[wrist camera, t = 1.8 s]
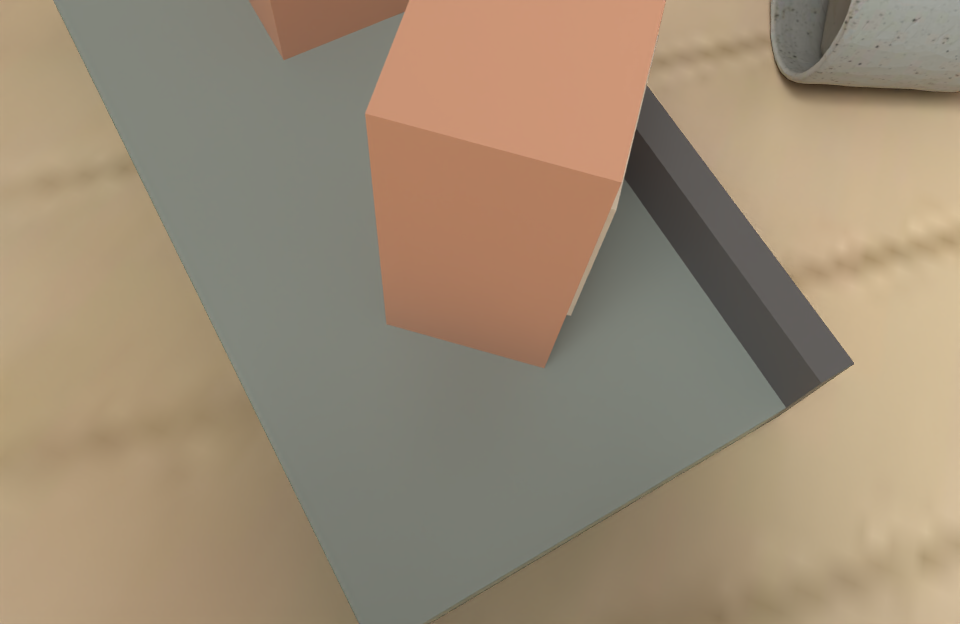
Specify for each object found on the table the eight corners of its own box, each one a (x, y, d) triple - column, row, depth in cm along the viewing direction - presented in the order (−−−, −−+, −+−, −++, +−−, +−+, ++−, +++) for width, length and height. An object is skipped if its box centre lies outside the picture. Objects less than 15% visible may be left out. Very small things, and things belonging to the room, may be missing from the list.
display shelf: (378, 654, 26) (367, 651, 21) (60, 7, 34) (-4, -109, 29) (786, 411, 29) (862, 358, 24) (412, -120, 38) (410, -243, 32)
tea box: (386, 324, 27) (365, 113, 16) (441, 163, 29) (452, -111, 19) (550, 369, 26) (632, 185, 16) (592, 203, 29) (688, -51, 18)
